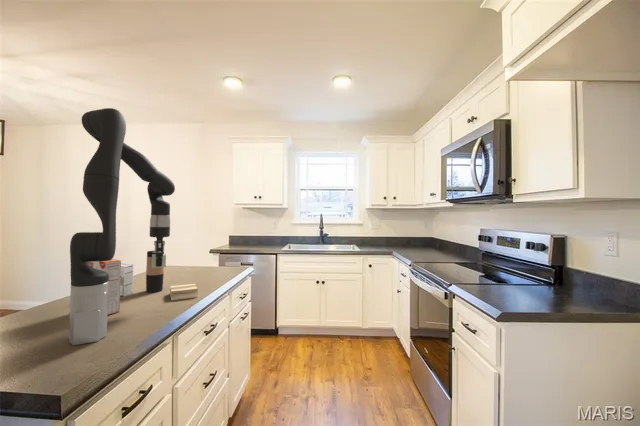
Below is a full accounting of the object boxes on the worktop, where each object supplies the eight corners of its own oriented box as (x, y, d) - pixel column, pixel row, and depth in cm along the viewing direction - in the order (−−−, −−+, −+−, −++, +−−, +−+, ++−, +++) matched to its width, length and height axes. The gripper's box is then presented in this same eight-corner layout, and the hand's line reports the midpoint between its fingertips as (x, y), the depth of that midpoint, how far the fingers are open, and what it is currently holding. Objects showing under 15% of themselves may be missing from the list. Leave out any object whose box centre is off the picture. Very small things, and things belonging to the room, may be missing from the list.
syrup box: (133, 293, 135) (134, 263, 135) (123, 296, 129) (124, 265, 129) (122, 292, 135) (123, 262, 136) (112, 295, 130) (113, 265, 130)
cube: (165, 267, 117) (166, 255, 117) (151, 267, 115) (152, 255, 115) (165, 265, 122) (165, 253, 122) (151, 265, 119) (152, 254, 119)
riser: (197, 297, 131) (197, 288, 131) (171, 300, 126) (171, 291, 126) (194, 291, 141) (194, 283, 141) (170, 294, 135) (170, 285, 135)
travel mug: (146, 289, 142) (148, 250, 142) (163, 288, 145) (165, 250, 145) (144, 293, 135) (145, 252, 135) (162, 292, 138) (163, 252, 138)
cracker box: (84, 310, 111) (86, 257, 111) (101, 305, 116) (103, 256, 116) (102, 317, 104) (104, 261, 104) (120, 312, 109) (121, 259, 110)
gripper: (170, 226, 114) (169, 267, 114) (169, 225, 126) (168, 262, 126) (149, 226, 110) (148, 269, 110) (150, 225, 123) (148, 263, 122)
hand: (158, 265), depth 118 cm, fingers closed on cube, 5 cm apart
